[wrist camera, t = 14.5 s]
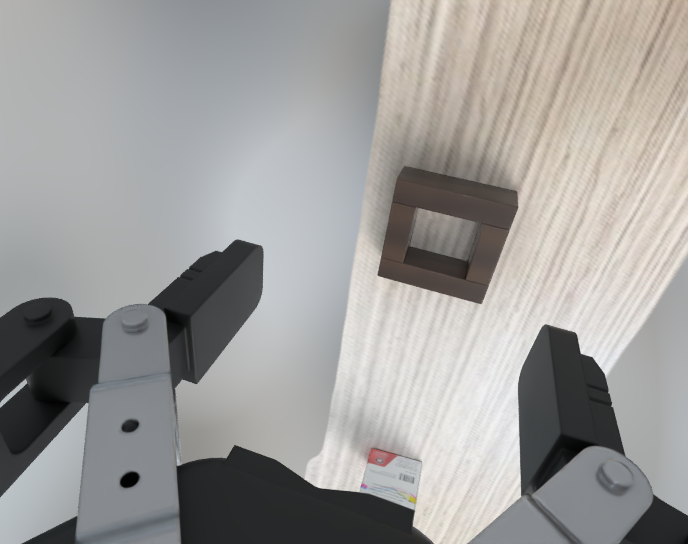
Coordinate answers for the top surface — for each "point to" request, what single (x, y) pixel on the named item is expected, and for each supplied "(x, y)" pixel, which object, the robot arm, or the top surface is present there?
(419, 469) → the ink cartridge box
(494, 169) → the top surface
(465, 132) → the top surface
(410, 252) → the can stand
